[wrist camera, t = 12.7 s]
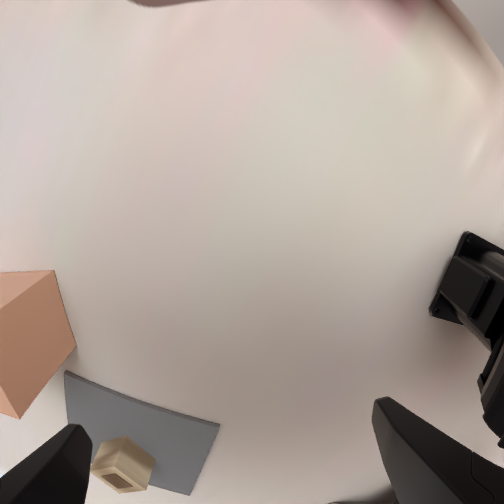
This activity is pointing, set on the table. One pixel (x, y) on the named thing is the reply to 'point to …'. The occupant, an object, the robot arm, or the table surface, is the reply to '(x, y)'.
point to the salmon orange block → (30, 337)
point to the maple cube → (123, 465)
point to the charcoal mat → (142, 431)
